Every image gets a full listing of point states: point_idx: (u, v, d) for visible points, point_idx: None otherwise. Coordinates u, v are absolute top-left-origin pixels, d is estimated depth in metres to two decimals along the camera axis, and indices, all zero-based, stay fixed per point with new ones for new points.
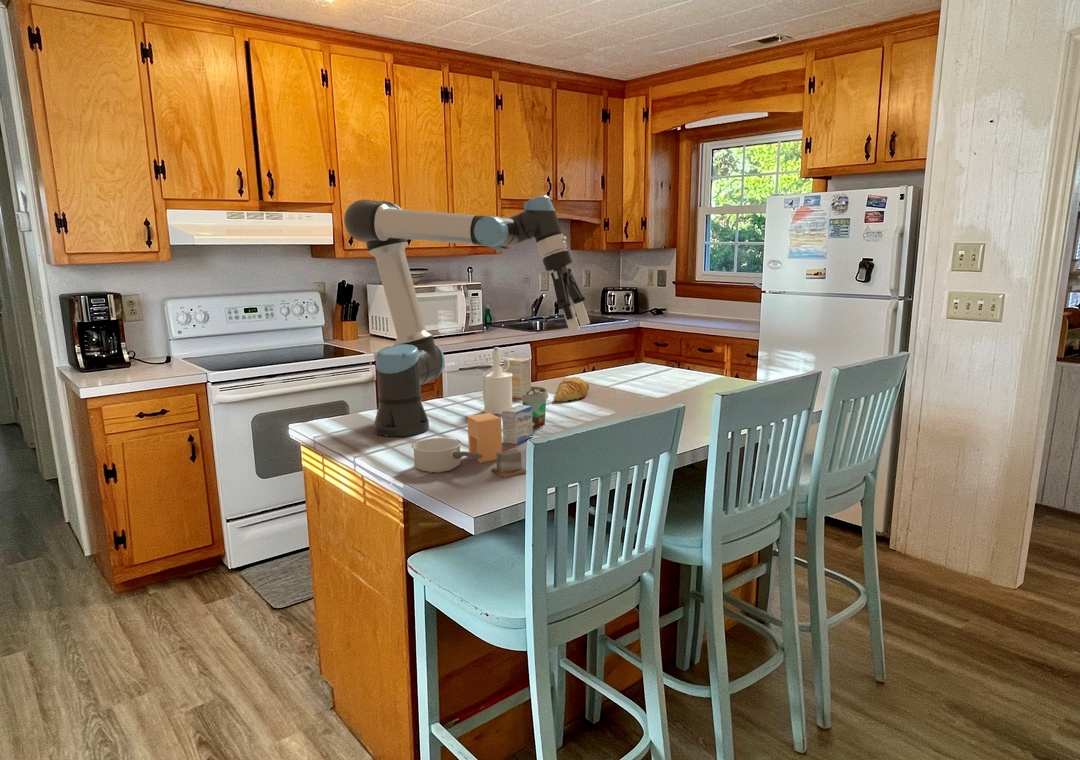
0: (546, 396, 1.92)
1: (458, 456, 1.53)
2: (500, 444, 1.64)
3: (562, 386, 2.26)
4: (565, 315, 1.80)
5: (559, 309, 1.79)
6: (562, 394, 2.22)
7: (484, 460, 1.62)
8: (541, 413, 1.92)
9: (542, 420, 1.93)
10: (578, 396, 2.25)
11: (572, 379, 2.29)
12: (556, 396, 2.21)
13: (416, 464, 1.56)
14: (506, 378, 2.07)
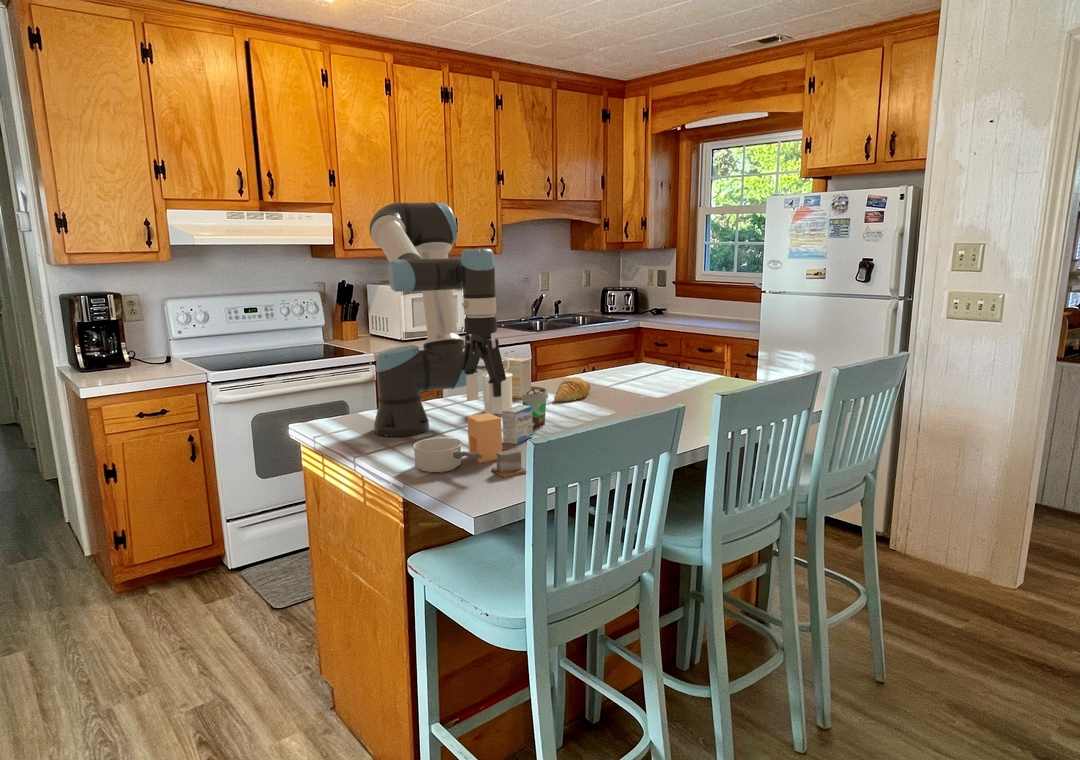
0: (546, 396, 1.92)
1: (459, 456, 1.53)
2: (500, 444, 1.64)
3: (562, 386, 2.26)
4: None
5: None
6: (562, 394, 2.22)
7: (484, 460, 1.62)
8: (541, 413, 1.92)
9: (542, 420, 1.93)
10: (578, 396, 2.25)
11: (573, 379, 2.28)
12: (556, 396, 2.21)
13: (417, 464, 1.56)
14: (506, 378, 2.07)
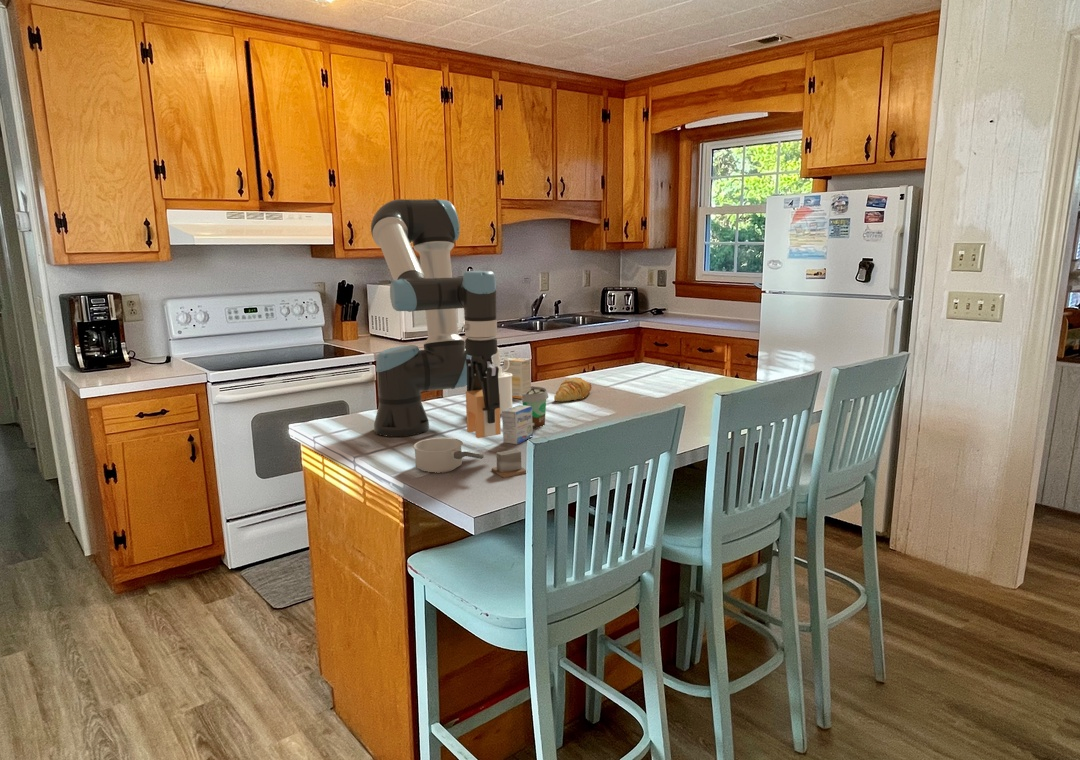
0: (546, 396, 1.92)
1: (459, 456, 1.53)
2: (498, 420, 1.63)
3: (563, 386, 2.26)
4: None
5: None
6: (562, 394, 2.22)
7: (482, 436, 1.62)
8: (541, 413, 1.92)
9: (542, 420, 1.93)
10: (578, 396, 2.25)
11: (573, 379, 2.28)
12: (556, 396, 2.21)
13: (417, 464, 1.56)
14: (506, 378, 2.07)
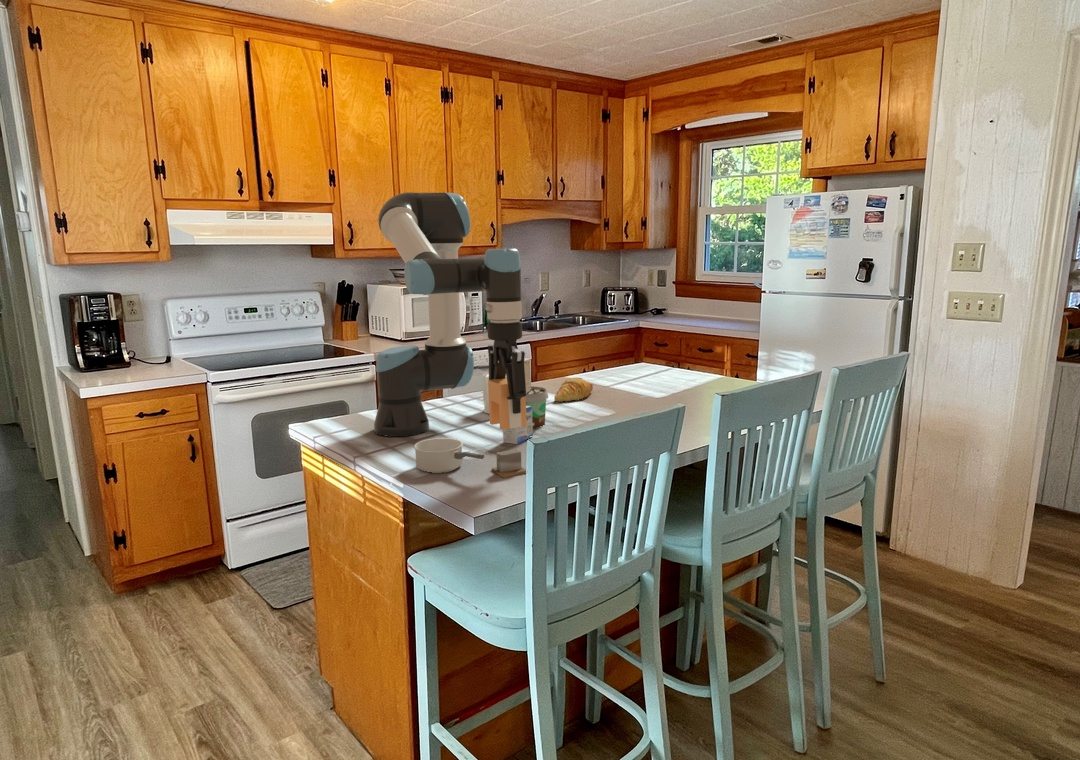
0: (546, 396, 1.92)
1: (460, 457, 1.53)
2: (524, 410, 1.51)
3: (563, 386, 2.26)
4: None
5: None
6: (562, 395, 2.21)
7: (507, 427, 1.49)
8: (541, 413, 1.92)
9: (542, 420, 1.93)
10: (579, 397, 2.25)
11: (574, 379, 2.28)
12: (556, 396, 2.21)
13: (418, 465, 1.56)
14: None
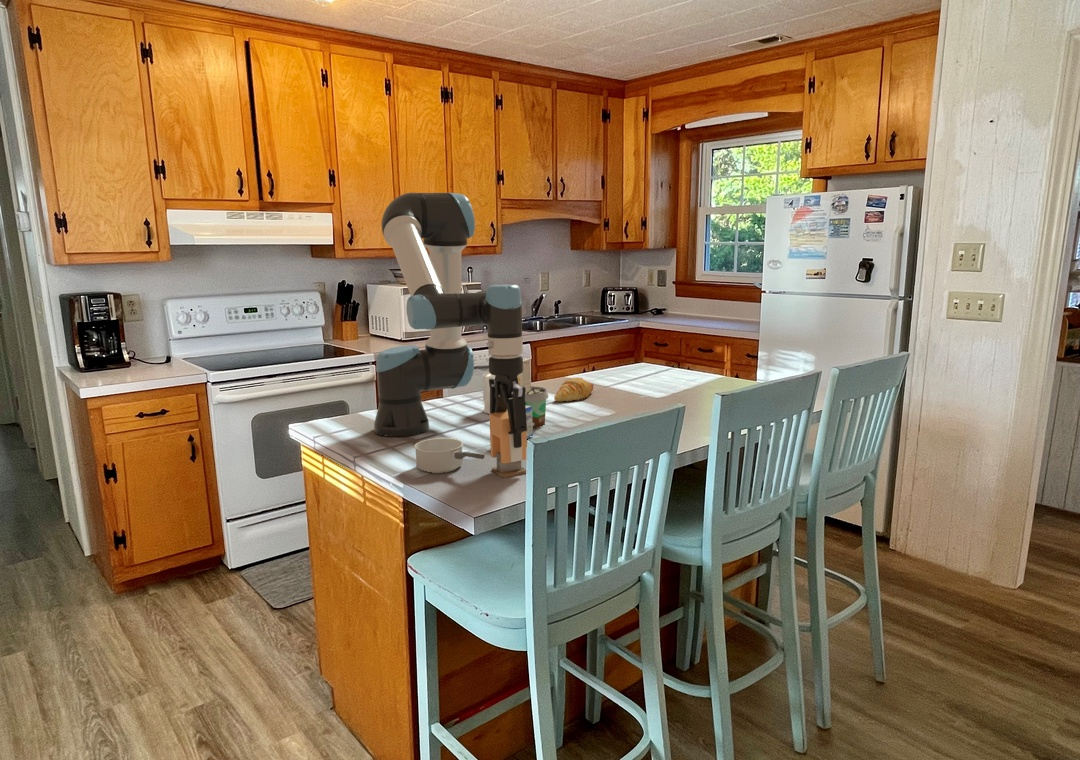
0: (546, 396, 1.92)
1: (460, 457, 1.53)
2: (525, 444, 1.52)
3: (563, 386, 2.26)
4: None
5: None
6: (562, 395, 2.21)
7: (508, 461, 1.51)
8: (541, 413, 1.92)
9: (542, 420, 1.93)
10: (579, 397, 2.24)
11: (574, 379, 2.28)
12: (556, 396, 2.21)
13: (418, 464, 1.56)
14: None
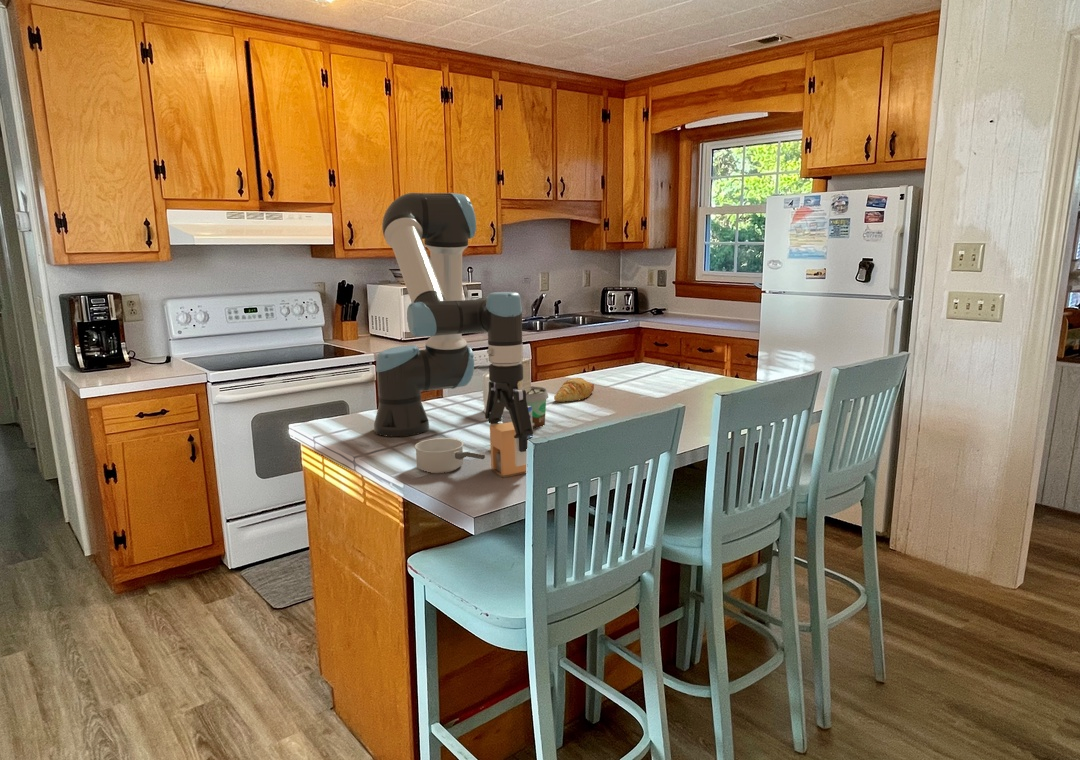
0: (546, 396, 1.92)
1: (461, 457, 1.53)
2: None
3: (563, 386, 2.25)
4: None
5: (500, 421, 1.60)
6: (562, 395, 2.21)
7: (508, 473, 1.51)
8: (541, 413, 1.92)
9: (542, 420, 1.93)
10: (579, 397, 2.24)
11: (574, 380, 2.28)
12: (555, 396, 2.21)
13: (418, 465, 1.56)
14: None
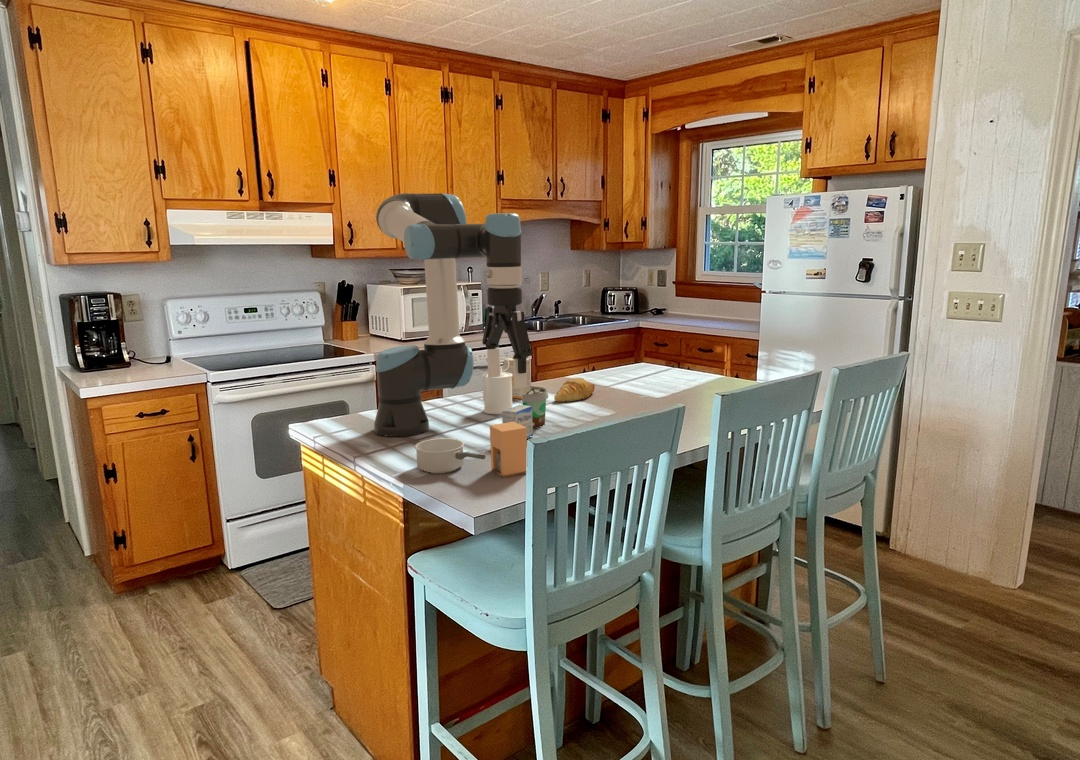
0: (546, 396, 1.92)
1: (461, 457, 1.53)
2: (525, 455, 1.53)
3: (564, 386, 2.25)
4: None
5: (498, 347, 1.59)
6: (562, 395, 2.21)
7: (508, 473, 1.51)
8: (541, 413, 1.92)
9: (542, 420, 1.93)
10: (579, 397, 2.24)
11: (575, 380, 2.28)
12: (555, 396, 2.21)
13: (419, 465, 1.56)
14: (506, 378, 2.07)
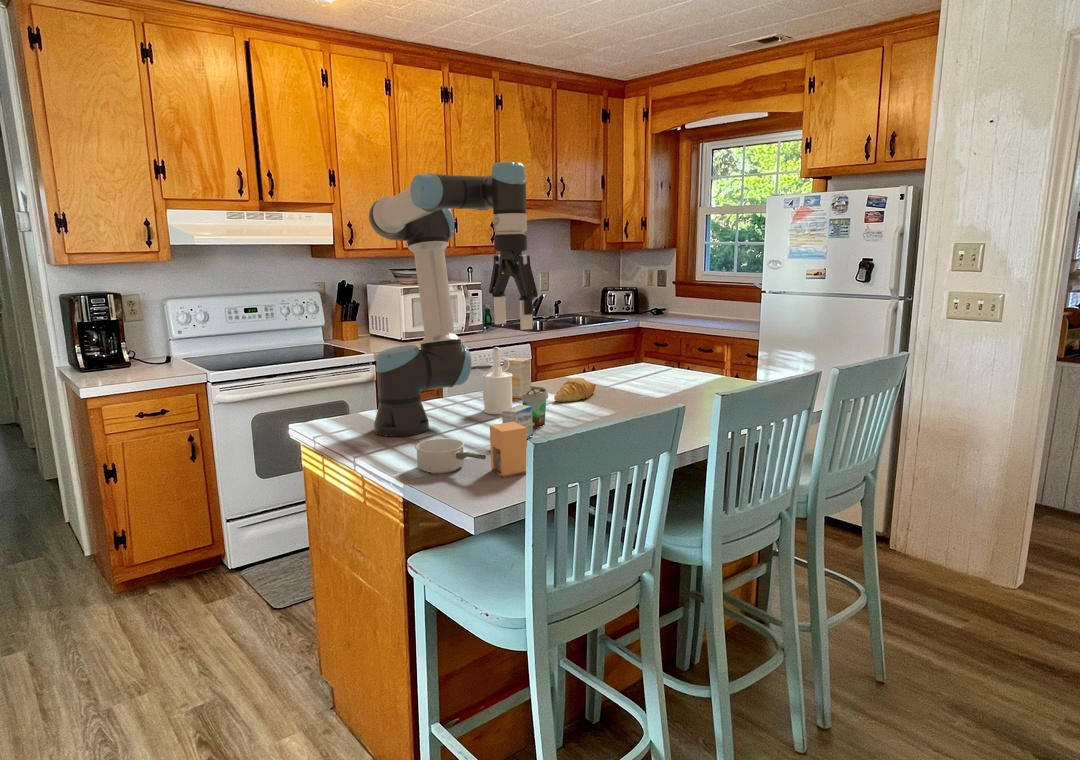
0: (546, 396, 1.92)
1: (461, 457, 1.53)
2: (525, 455, 1.53)
3: (564, 386, 2.25)
4: None
5: (504, 295, 1.66)
6: (562, 395, 2.21)
7: (508, 473, 1.51)
8: (541, 413, 1.92)
9: (542, 420, 1.93)
10: (579, 397, 2.24)
11: (575, 380, 2.27)
12: (555, 396, 2.21)
13: (419, 465, 1.56)
14: (506, 378, 2.07)
